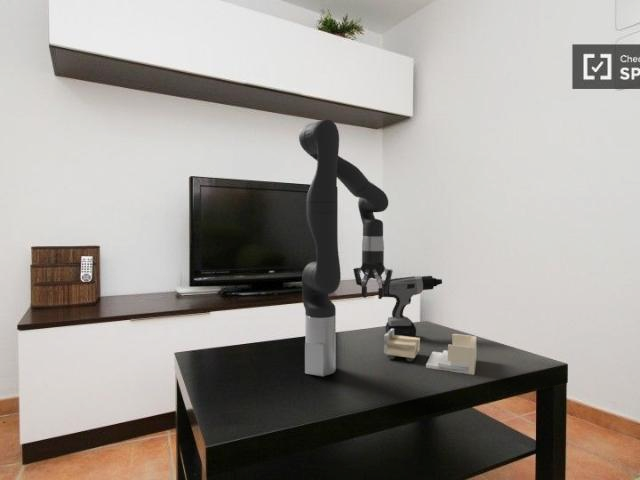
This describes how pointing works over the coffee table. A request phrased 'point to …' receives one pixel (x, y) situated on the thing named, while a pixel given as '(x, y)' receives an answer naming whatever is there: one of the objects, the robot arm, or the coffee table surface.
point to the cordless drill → (406, 301)
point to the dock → (456, 356)
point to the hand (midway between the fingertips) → (372, 297)
